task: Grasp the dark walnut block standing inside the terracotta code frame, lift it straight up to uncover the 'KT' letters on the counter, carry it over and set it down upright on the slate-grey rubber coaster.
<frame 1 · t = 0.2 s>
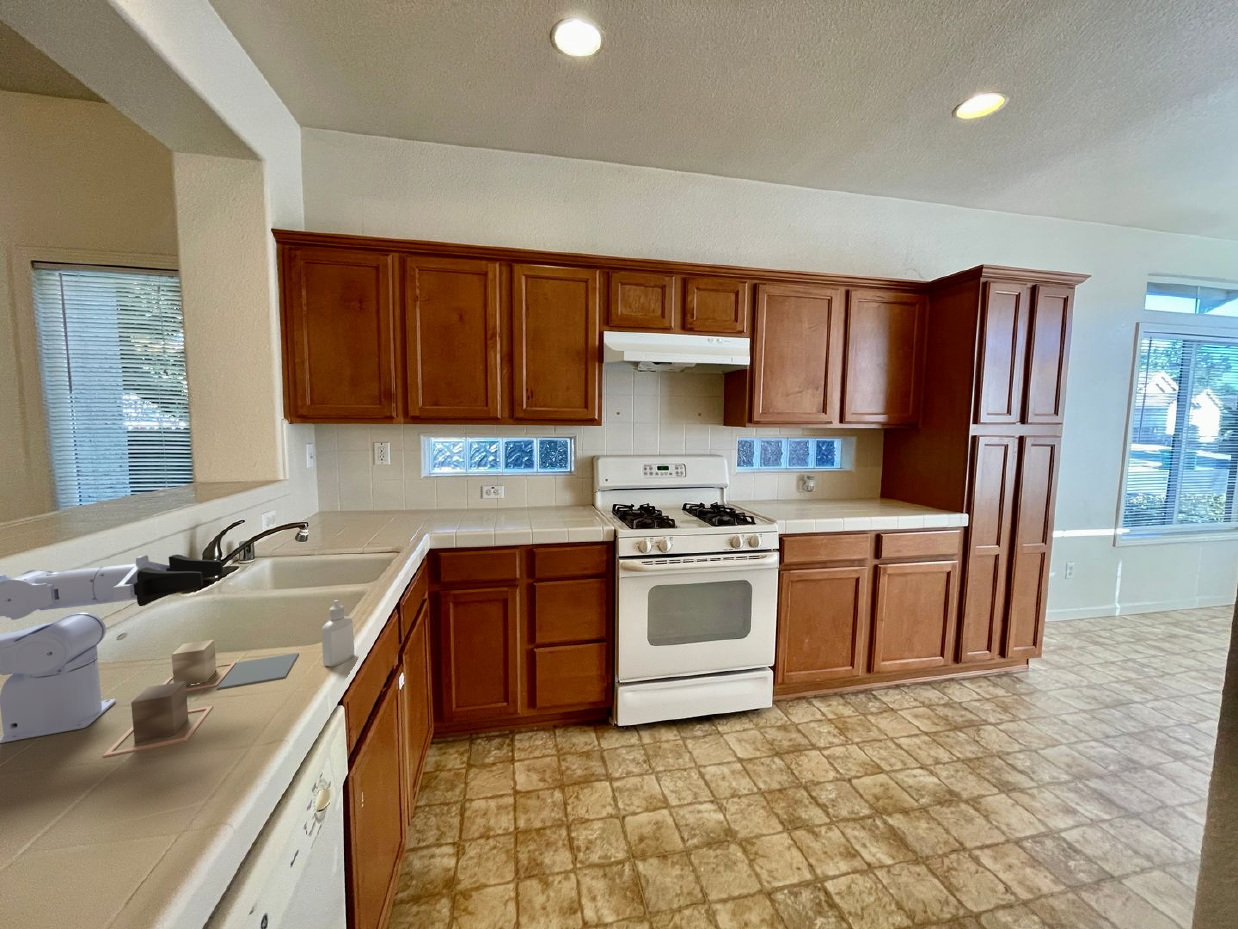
hand: (212, 573, 80), 21 cm above the countertop, tool horizontal, fingers open, 7 cm apart
eye dropper bottle: (339, 661, 94), on the countertop
walnut block: (162, 730, 72), on the countertop, touching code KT
coaster: (260, 671, 90), on the countertop
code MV: (196, 679, 87), on the countertop
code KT: (162, 730, 72), on the countertop
oak block: (195, 678, 87), on the countertop, touching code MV
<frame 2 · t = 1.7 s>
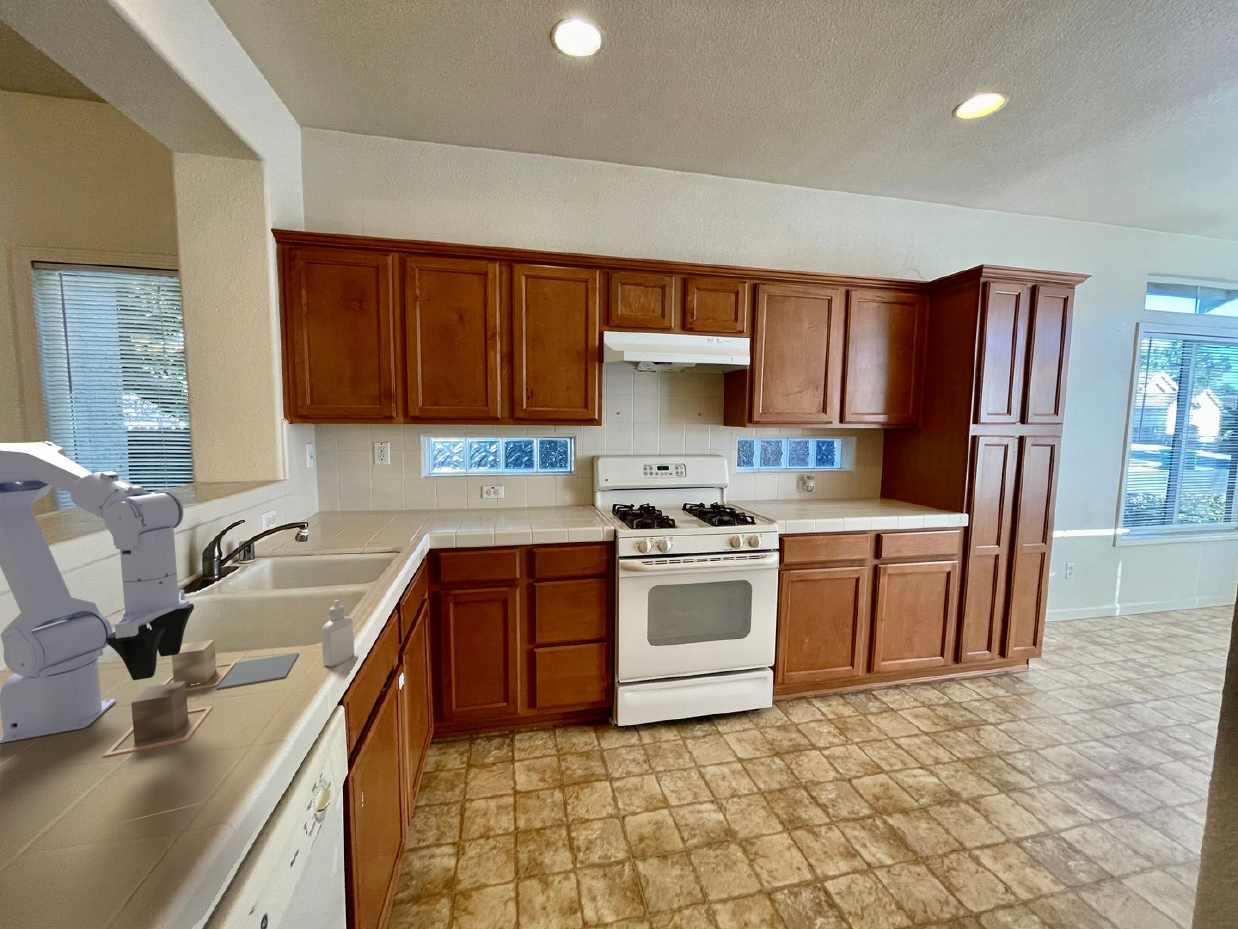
hand: (157, 665, 71), 10 cm above the countertop, tool pointing down, fingers open, 7 cm apart
nothing on the countertop moved.
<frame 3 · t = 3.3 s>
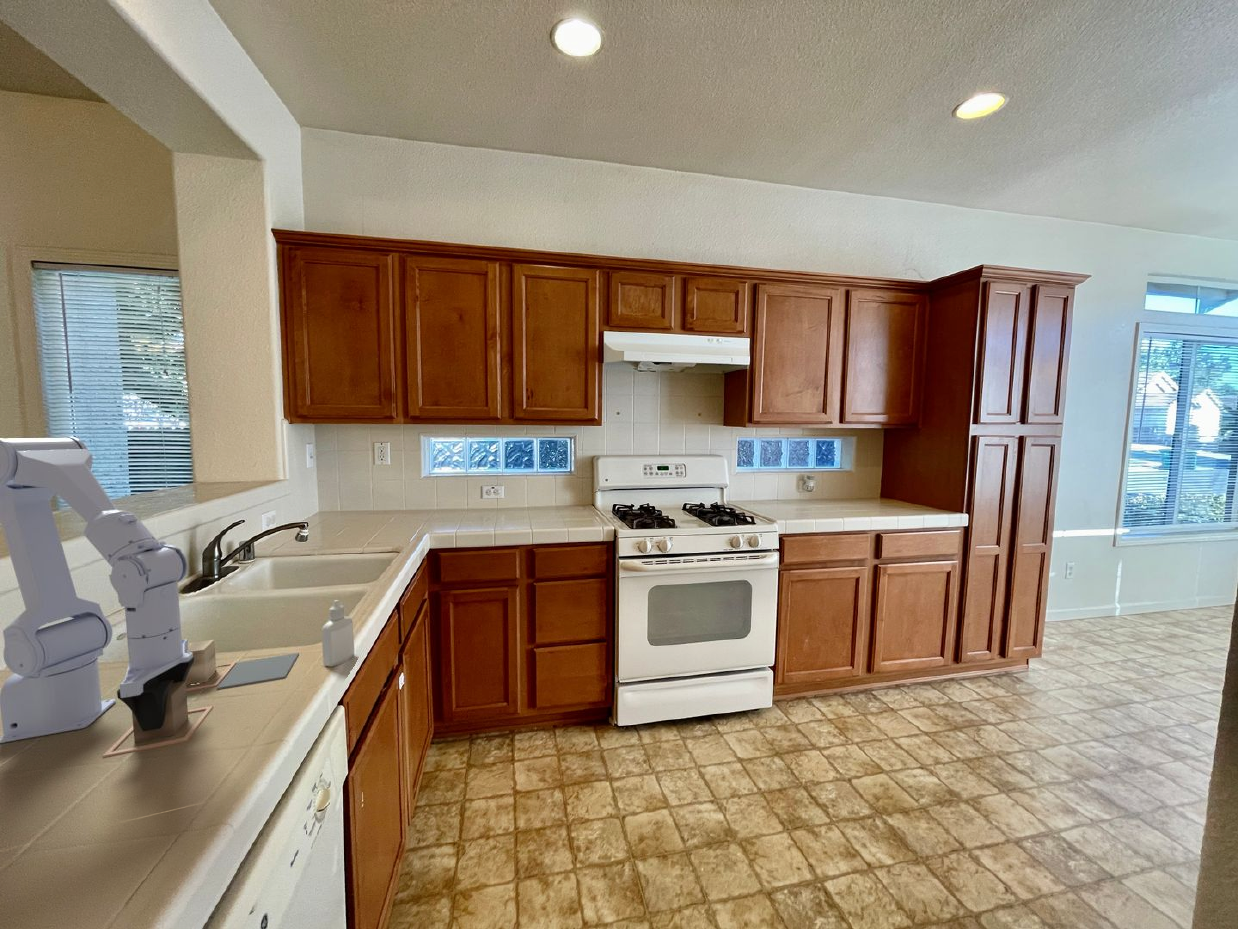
hand: (161, 719, 72), 2 cm above the countertop, tool pointing down, fingers closed on walnut block, 4 cm apart
walnut block: (162, 730, 72), on the countertop, touching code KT, gripper
everything else where it was.
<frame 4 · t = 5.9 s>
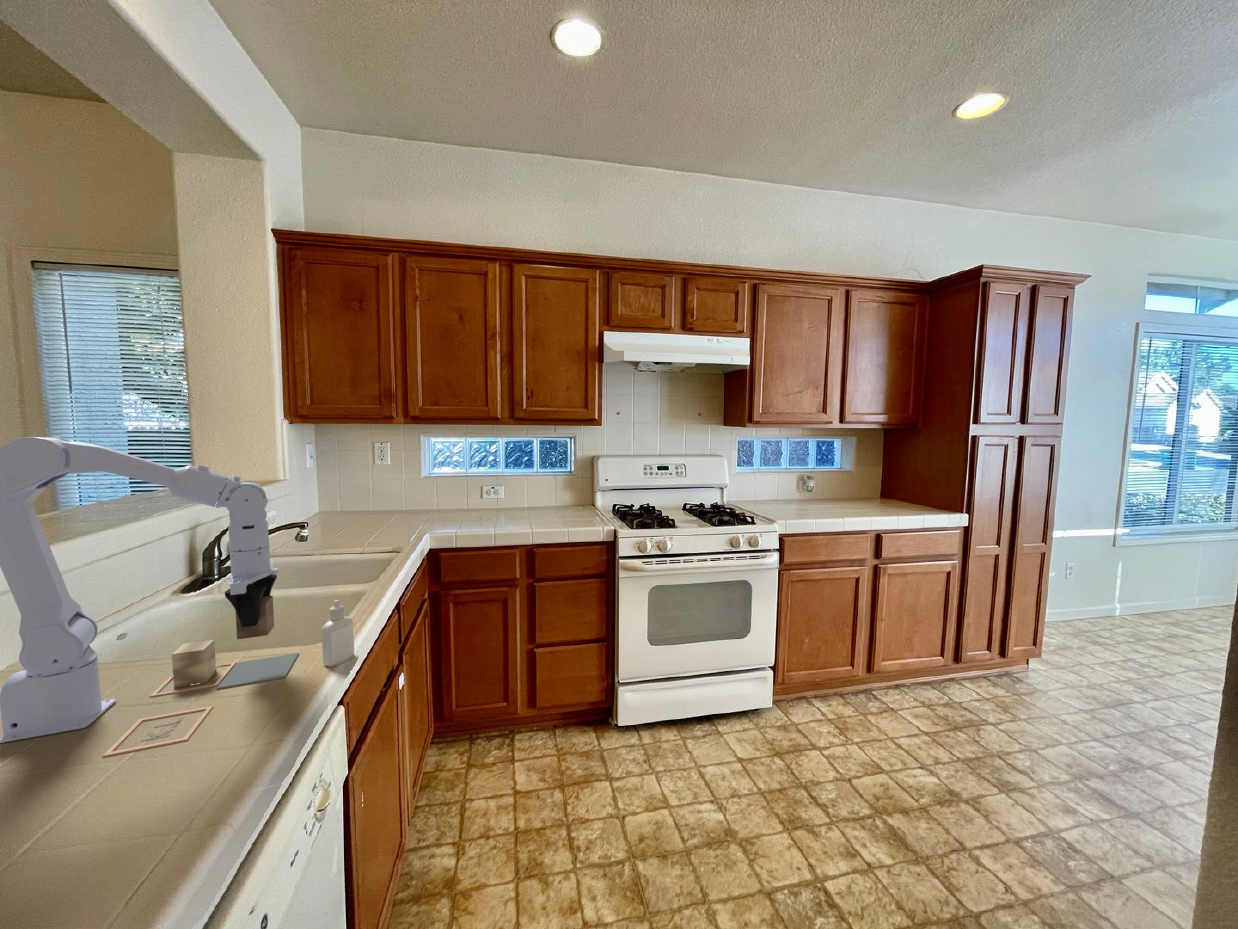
hand: (254, 620, 88), 10 cm above the countertop, tool pointing down, fingers closed on walnut block, 4 cm apart
walnut block: (256, 632, 89), point 8 cm above the countertop, touching gripper
everything else where it was.
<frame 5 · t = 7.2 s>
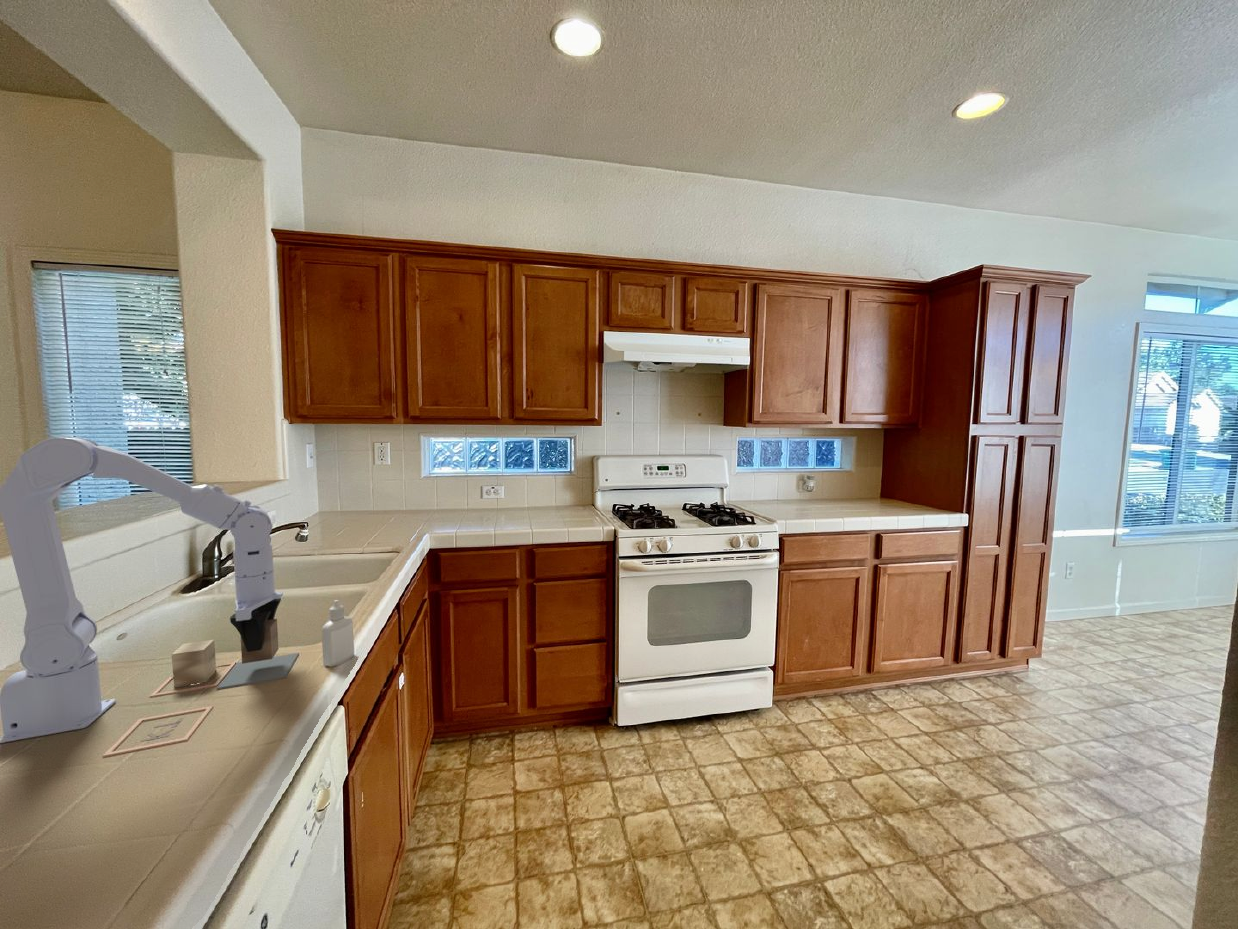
hand: (259, 644, 89), 5 cm above the countertop, tool pointing down, fingers closed on walnut block, 4 cm apart
walnut block: (260, 656, 90), point 3 cm above the countertop, touching gripper
everything else where it was.
when the fingers open (3 cm above the countertop, at t = 8.5 s): walnut block stays where it is, resting on coaster.
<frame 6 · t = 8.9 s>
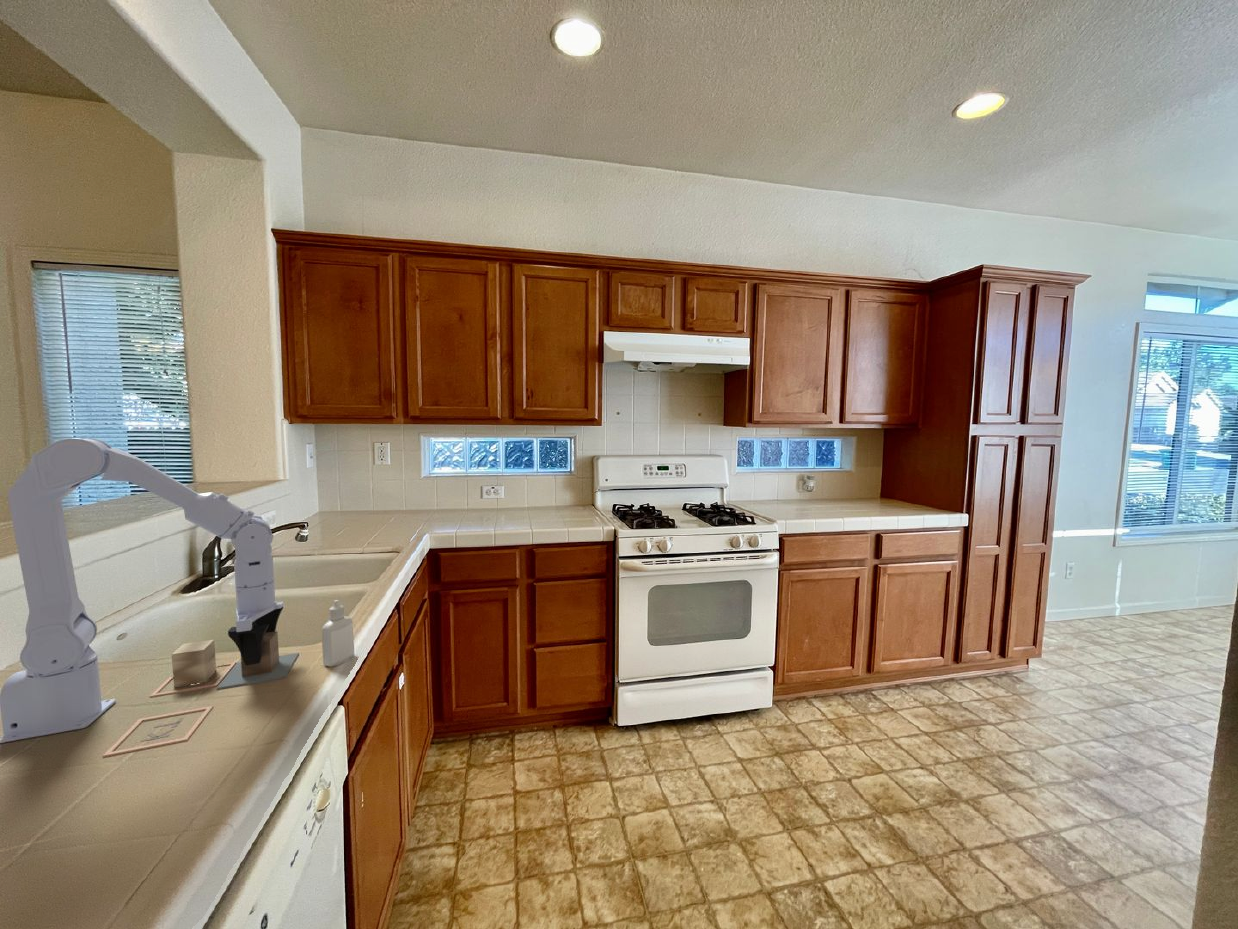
hand: (259, 654, 89), 3 cm above the countertop, tool pointing down, fingers open, 7 cm apart
walnut block: (261, 669, 90), resting on coaster
everything else where it was.
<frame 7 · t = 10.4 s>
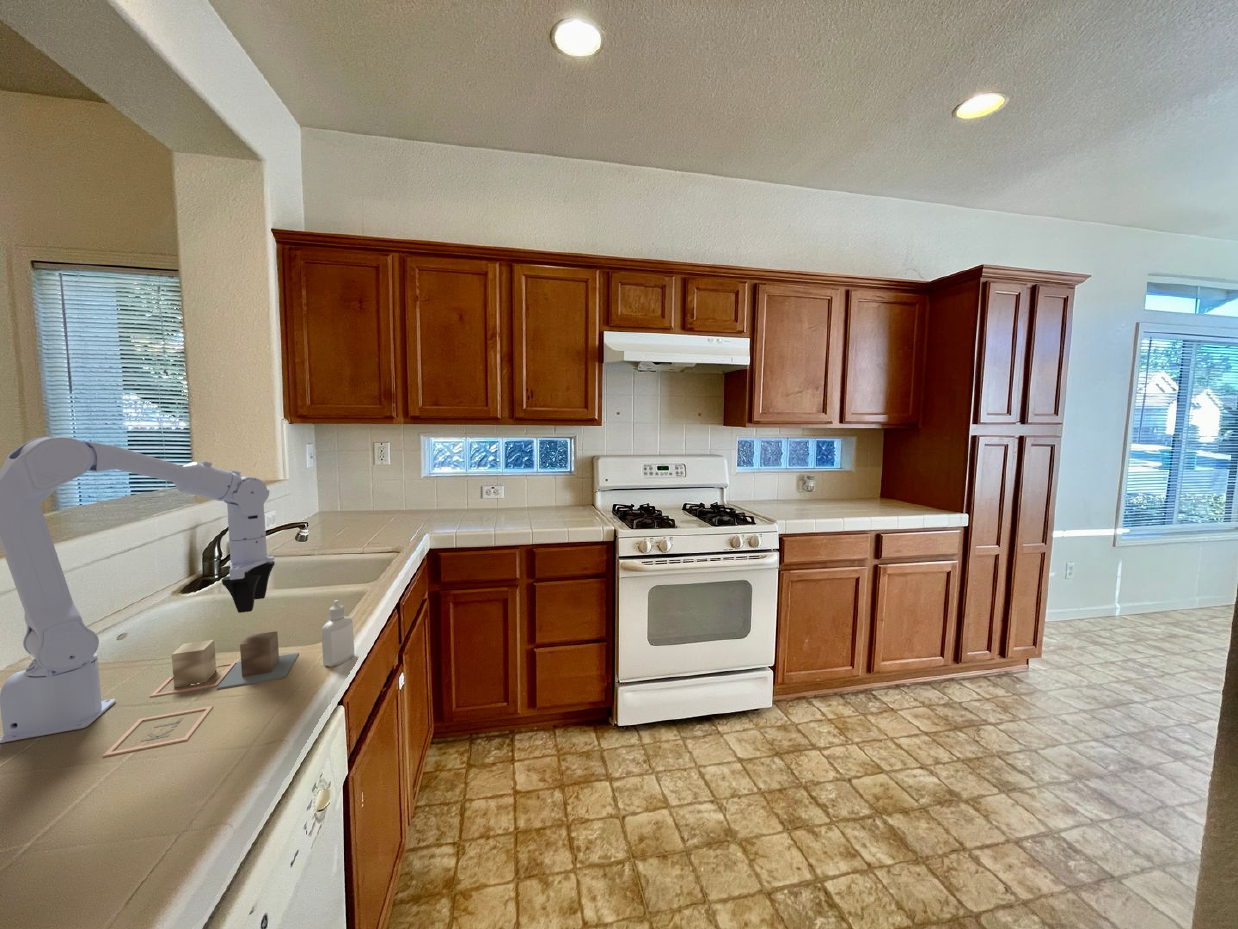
hand: (252, 605, 95), 10 cm above the countertop, tool pointing down, fingers open, 7 cm apart
nothing on the countertop moved.
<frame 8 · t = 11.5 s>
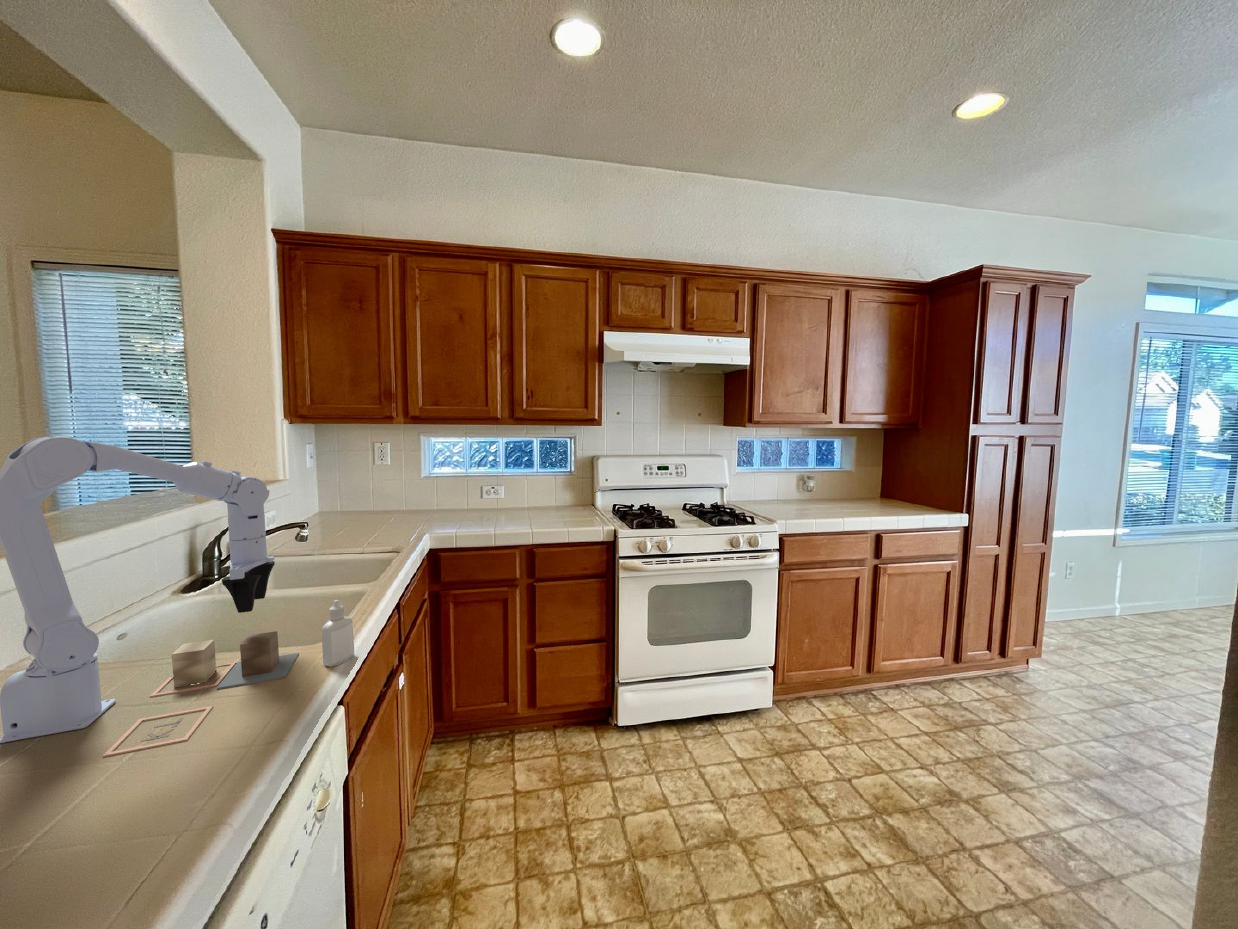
hand: (252, 605, 95), 10 cm above the countertop, tool pointing down, fingers open, 7 cm apart
nothing on the countertop moved.
at the end: walnut block inside the target area on the coaster (0.1 cm from its centre), point 0.4 cm above the coaster's base; walnut block tilted 0°; the gripper is holding nothing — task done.
